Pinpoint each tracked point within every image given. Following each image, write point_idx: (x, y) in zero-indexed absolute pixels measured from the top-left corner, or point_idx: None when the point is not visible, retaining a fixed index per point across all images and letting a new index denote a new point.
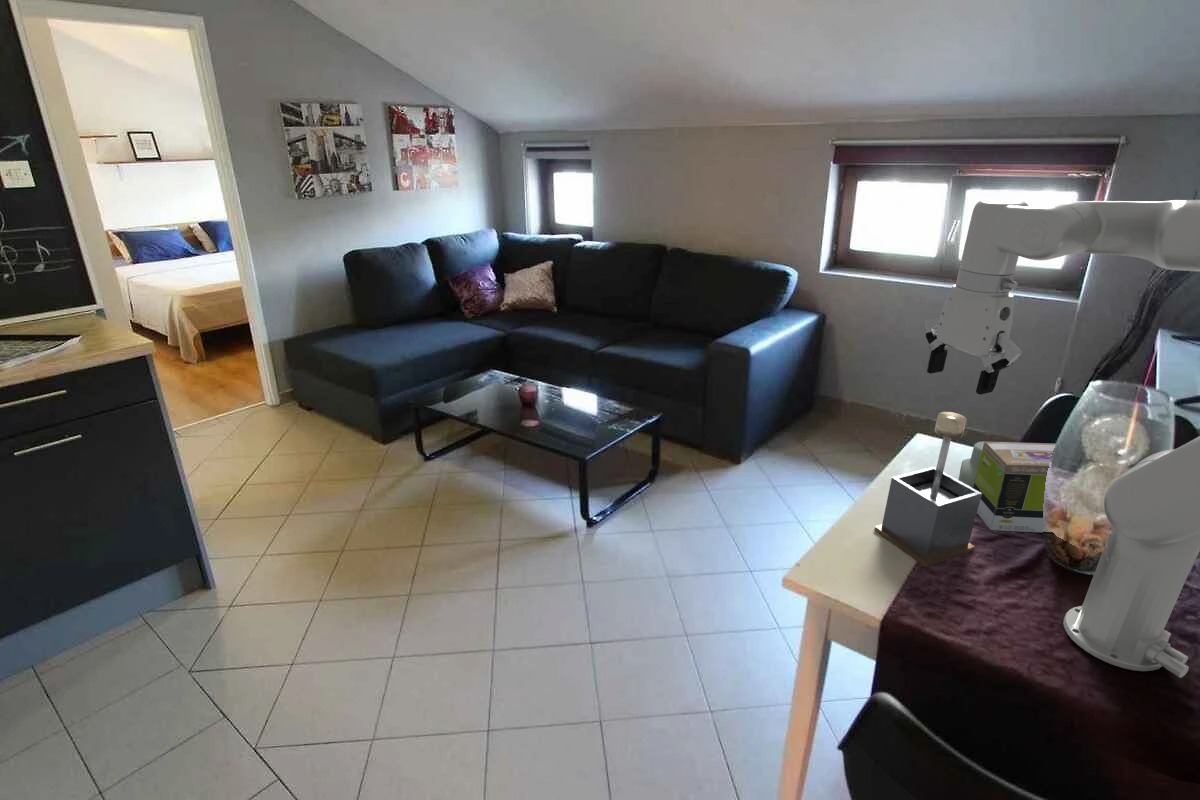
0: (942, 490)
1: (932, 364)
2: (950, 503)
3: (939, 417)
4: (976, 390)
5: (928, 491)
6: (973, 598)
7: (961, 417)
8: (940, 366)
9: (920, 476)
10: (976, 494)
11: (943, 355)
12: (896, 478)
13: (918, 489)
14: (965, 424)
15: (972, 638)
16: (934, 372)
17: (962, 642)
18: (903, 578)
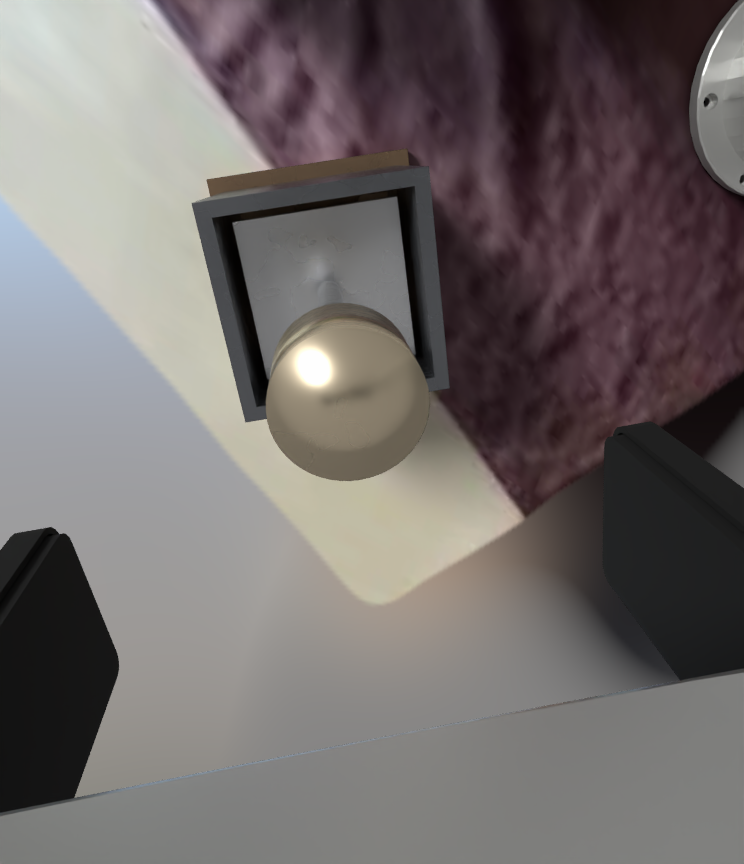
0: (293, 221)
1: (92, 745)
2: (443, 333)
3: (331, 479)
4: (616, 587)
5: (288, 279)
6: (553, 305)
7: (367, 356)
8: (62, 612)
9: (230, 285)
10: (430, 198)
11: (1, 718)
12: (255, 411)
13: (269, 306)
14: (407, 347)
15: (638, 397)
16: (103, 626)
17: (637, 423)
18: (443, 413)
